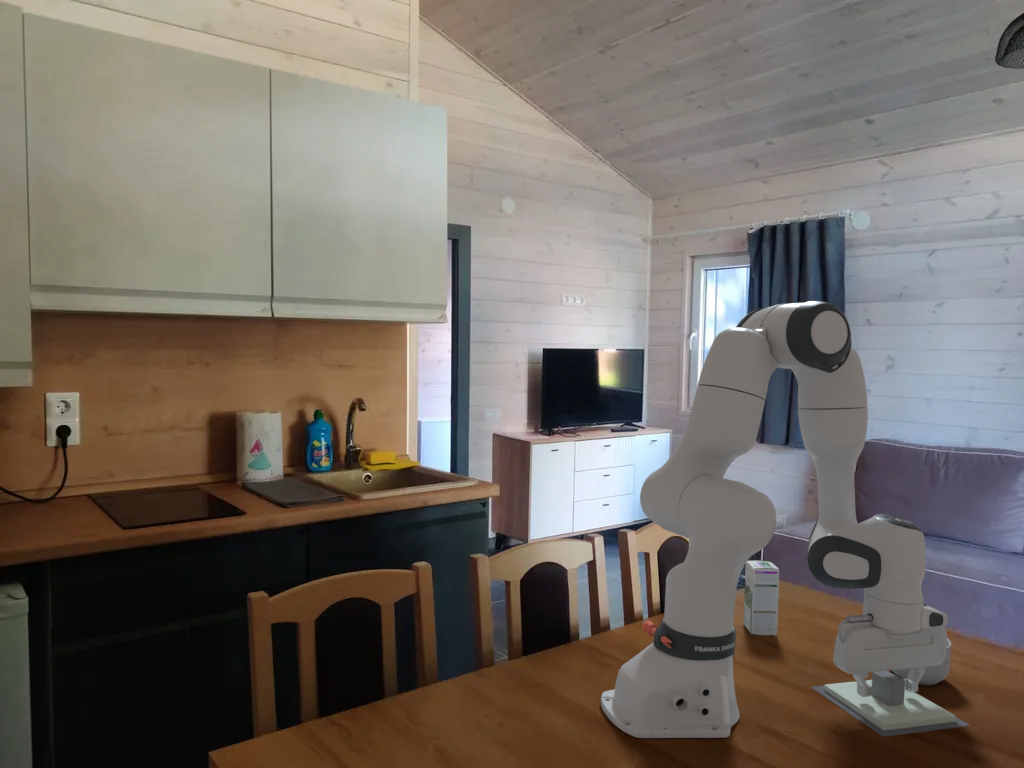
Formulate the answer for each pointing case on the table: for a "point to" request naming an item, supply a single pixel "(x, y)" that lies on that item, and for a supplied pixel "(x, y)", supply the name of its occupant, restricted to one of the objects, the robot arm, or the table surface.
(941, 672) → the teacup
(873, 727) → the mat
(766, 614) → the syrup box
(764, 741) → the table surface
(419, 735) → the table surface
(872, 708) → the lid
